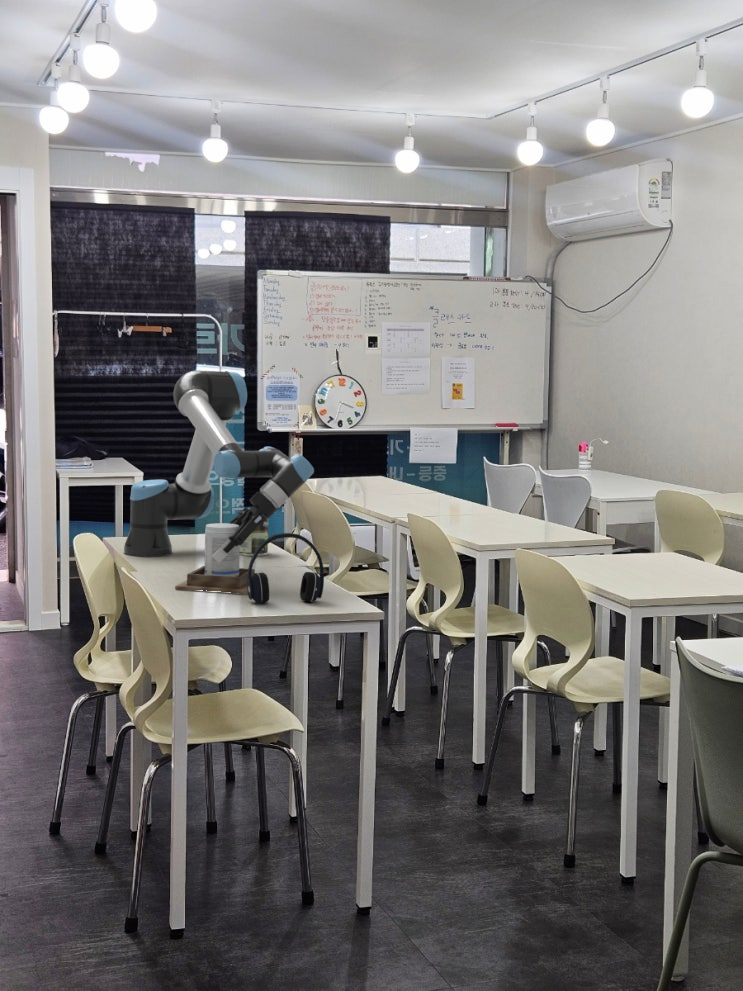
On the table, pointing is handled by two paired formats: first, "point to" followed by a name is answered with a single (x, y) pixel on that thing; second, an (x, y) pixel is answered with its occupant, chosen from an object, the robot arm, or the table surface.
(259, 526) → the coffee can
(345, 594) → the table surface
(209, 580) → the tray
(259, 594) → the headphones
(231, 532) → the supplement tub
